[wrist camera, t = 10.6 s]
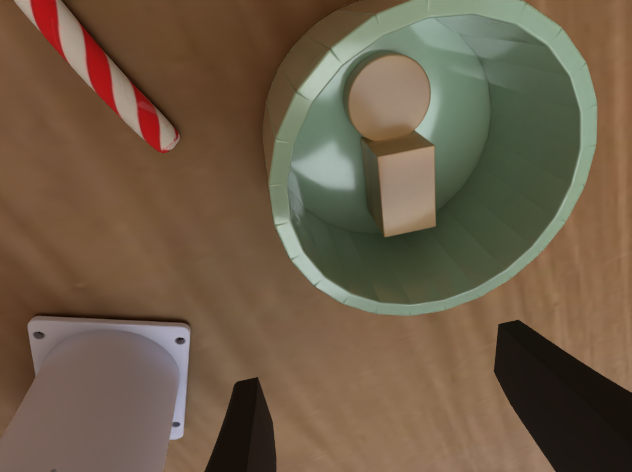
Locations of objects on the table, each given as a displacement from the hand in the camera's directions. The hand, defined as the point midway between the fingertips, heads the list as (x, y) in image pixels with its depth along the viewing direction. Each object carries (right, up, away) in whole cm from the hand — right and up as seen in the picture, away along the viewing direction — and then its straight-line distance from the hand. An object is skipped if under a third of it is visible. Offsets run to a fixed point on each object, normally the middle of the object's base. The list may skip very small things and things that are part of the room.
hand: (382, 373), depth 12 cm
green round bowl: (+1, +9, +7) cm, 12 cm away
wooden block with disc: (+1, +9, +7) cm, 11 cm away
